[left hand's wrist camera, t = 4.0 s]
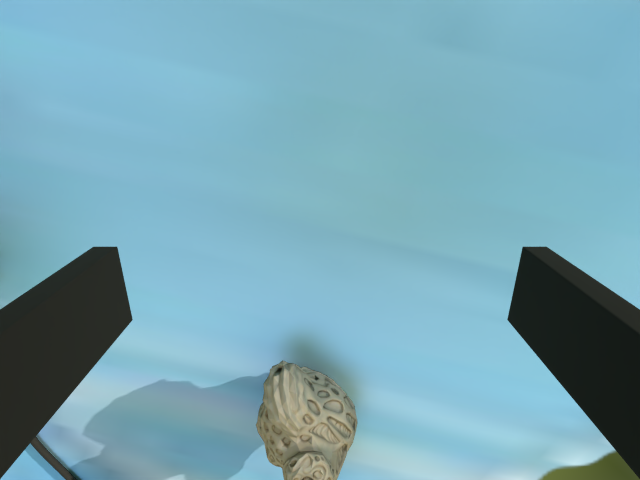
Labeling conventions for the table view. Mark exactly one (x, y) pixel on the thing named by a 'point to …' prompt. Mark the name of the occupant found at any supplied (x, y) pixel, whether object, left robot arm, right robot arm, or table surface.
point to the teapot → (305, 423)
